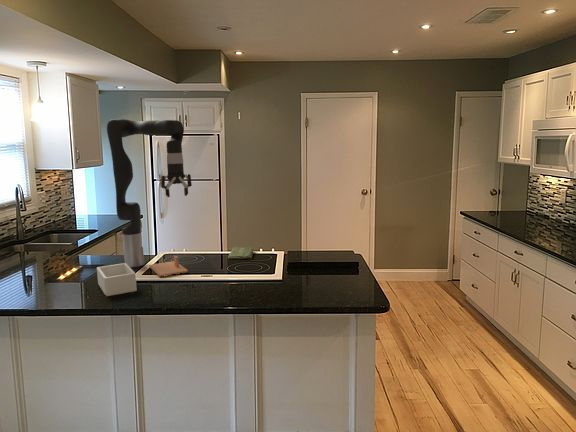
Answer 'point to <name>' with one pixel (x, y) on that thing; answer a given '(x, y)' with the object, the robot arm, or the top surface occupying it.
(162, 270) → the snap lid
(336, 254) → the top surface
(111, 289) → the parts tub
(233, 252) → the washcloth
